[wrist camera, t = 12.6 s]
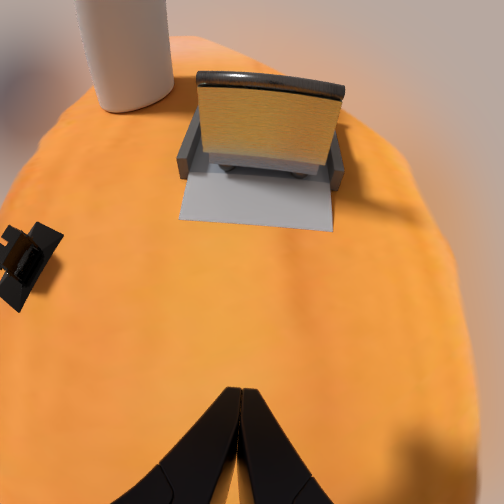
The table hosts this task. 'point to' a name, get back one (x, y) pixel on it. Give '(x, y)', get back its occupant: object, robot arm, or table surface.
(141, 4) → the cylinder vase
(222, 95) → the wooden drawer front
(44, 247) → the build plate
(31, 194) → the table surface
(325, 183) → the dock
